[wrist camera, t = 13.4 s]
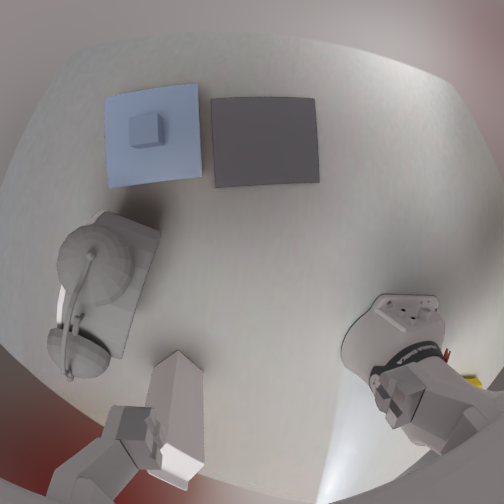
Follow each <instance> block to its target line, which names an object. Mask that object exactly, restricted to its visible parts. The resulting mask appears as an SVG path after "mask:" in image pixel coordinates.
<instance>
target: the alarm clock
mask: <svg viewBox="0 0 504 504" xmlns="http://www.w3.org/2000/svg"><path fill="white" fill-rule="evenodd" d="M160 237H161V232H160V231H158V230H155V229H153V228H150V227H148V226H145V225H143V224H140V223H137V222H135V221H132V220H130V219H127V218H125V217H122V216H120V215H117V214H115V213H112V212H109V211H107V210H99V211H98V212H97V213H96V214H95V215H94V216H93V217H92V218H91V220H90V221H89V222H88V224H87V225H86V226H81V227H79V228H78V229H76V230H75V231H73V232H72V233H71V234H69V235H68V236H67V238H66V239H65V241H64V242H63V244H62V246H61V247H60V251H59V256H58V261H57V270H58V276H59V281H60V283H61V289H60V294H59V299H58V306H57V328H58V329H57V328H54V329H51V330H50V332H49V335H48V341H47V349H48V352H49V355H50V356H51V358H52V360H53V361H54V362H55V363H56V364H57V366H58V367H59V368H61V374H63V375H65V376H67V381H68V382H71V381H73V379H74V376H75V377H79V378H94V377H98V376H99V375H101V374H102V373H104V372H105V370H106V369H107V367H108V366H109V363H110V359H111V357H114V358H117V359H122V357H123V353H124V349H125V345H126V342H127V338H128V335H129V331H130V328H131V324H132V321H133V317H134V314H135V311H136V307H137V304H138V301H139V298H140V294H141V291H142V288H143V285H144V282H145V279H146V276H147V273H148V270H149V267H150V264H151V262H152V259H153V256H154V253H155V250H156V247H157V245H158V242H159V239H160ZM110 356H111V357H110Z"/></svg>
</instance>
